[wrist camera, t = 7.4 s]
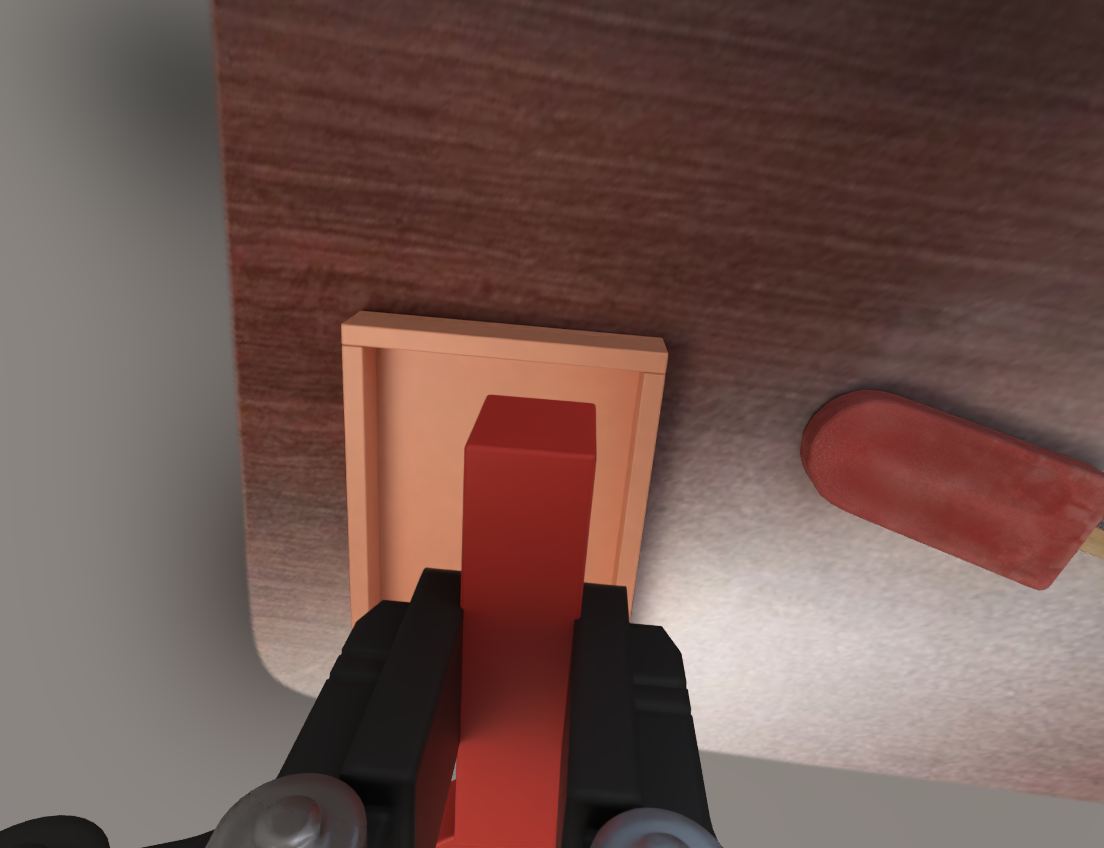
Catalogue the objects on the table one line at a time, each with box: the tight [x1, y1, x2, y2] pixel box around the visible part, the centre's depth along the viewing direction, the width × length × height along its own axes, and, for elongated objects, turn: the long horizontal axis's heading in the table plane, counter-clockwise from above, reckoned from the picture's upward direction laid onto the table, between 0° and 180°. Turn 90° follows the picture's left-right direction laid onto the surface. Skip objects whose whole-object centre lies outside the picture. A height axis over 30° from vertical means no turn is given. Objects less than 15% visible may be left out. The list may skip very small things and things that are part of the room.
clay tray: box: [341, 311, 668, 629], centre depth 25 cm, size 13×10×2 cm
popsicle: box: [800, 390, 1104, 590], centre depth 24 cm, size 4×2×15 cm
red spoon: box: [436, 394, 597, 848], centre depth 10 cm, size 10×3×2 cm, turn 176°
